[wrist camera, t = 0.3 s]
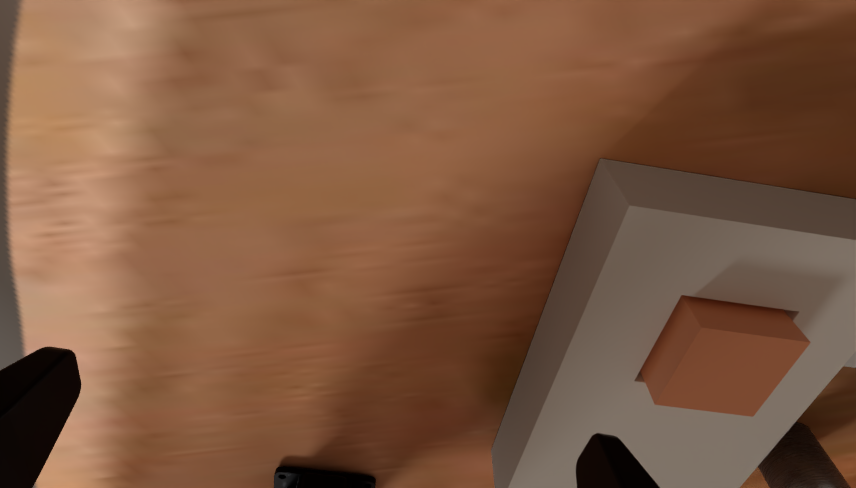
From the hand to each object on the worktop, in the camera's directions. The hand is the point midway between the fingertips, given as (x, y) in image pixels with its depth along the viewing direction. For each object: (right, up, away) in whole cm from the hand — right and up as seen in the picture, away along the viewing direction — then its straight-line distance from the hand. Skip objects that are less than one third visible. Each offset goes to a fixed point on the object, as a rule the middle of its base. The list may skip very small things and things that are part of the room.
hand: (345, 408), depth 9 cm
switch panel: (+13, -3, +19) cm, 23 cm away
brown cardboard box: (+14, 0, +15) cm, 20 cm away
